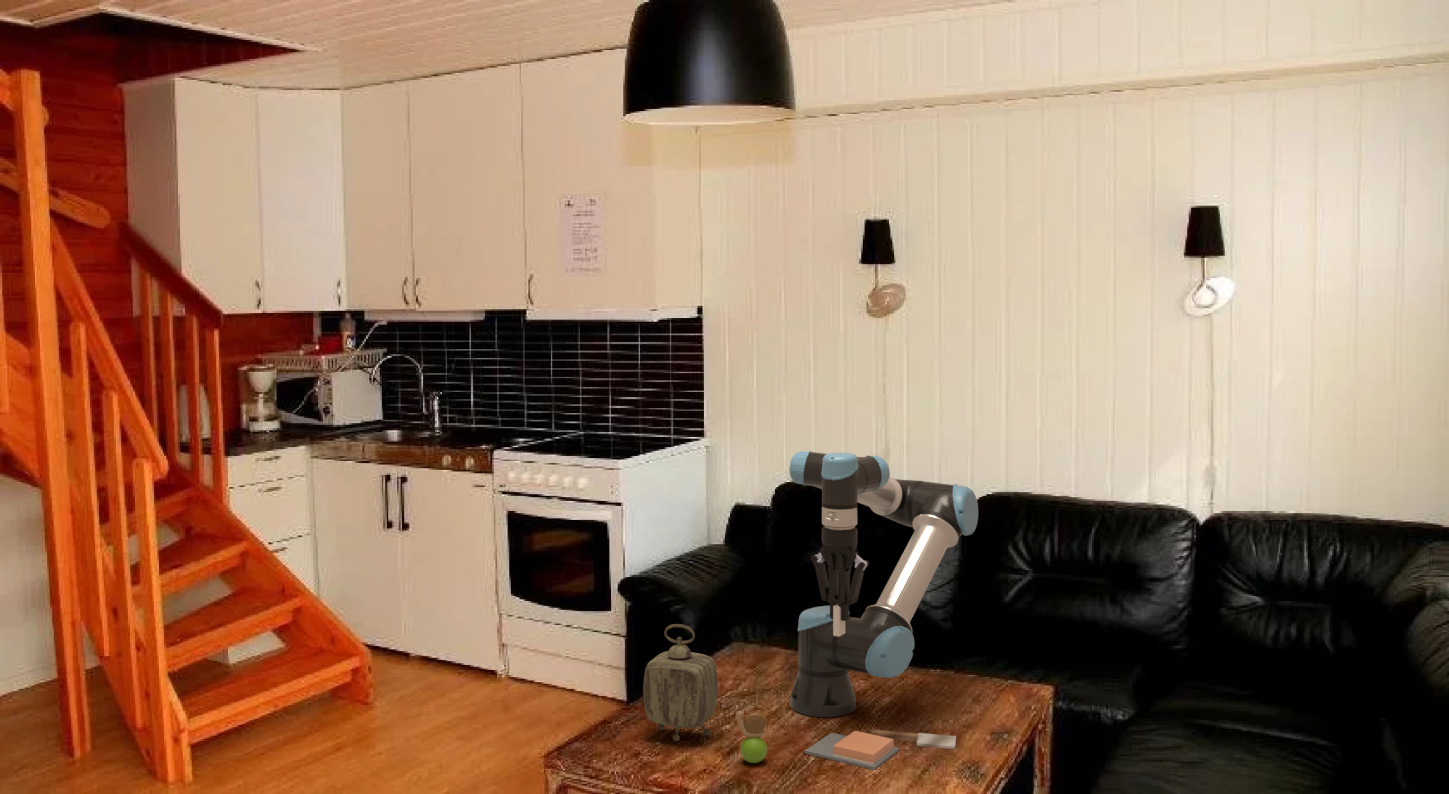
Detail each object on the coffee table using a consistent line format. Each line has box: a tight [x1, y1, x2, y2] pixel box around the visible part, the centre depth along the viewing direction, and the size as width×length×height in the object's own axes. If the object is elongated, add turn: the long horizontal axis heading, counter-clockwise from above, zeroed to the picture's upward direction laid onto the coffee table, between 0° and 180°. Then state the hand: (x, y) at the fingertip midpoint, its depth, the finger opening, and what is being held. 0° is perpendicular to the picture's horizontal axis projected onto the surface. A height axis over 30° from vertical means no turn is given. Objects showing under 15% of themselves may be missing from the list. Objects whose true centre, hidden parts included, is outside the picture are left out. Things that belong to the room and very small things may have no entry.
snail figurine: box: [735, 704, 768, 764], centre depth 246 cm, size 5×6×12 cm
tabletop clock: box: [642, 623, 719, 743], centre depth 259 cm, size 14×9×25 cm, turn 71°
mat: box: [804, 732, 900, 771], centre depth 252 cm, size 16×12×1 cm
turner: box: [870, 729, 957, 750], centre depth 259 cm, size 18×6×1 cm, turn 77°
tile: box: [833, 730, 895, 764], centre depth 251 cm, size 2×10×9 cm
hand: (839, 634), depth 258 cm, fingers closed
